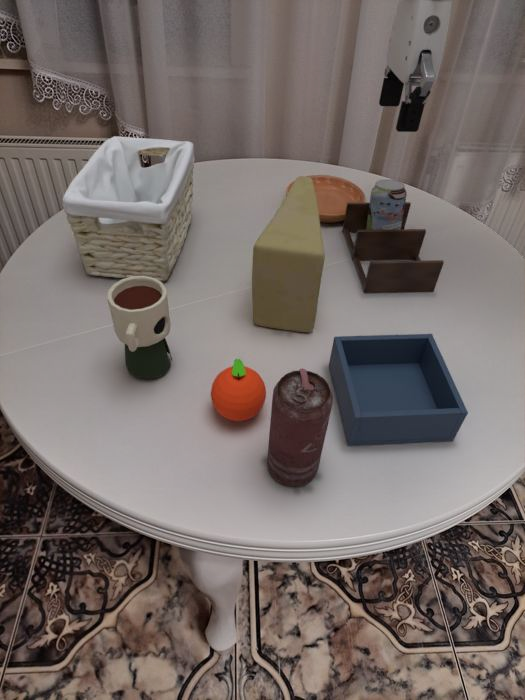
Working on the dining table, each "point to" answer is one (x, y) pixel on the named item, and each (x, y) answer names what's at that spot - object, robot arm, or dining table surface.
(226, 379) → the clementine
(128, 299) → the character mug
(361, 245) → the drying rack
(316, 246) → the cheese
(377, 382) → the open square box
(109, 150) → the basket
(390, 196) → the beverage can
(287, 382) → the can
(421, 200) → the dining table surface
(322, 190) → the saucer
